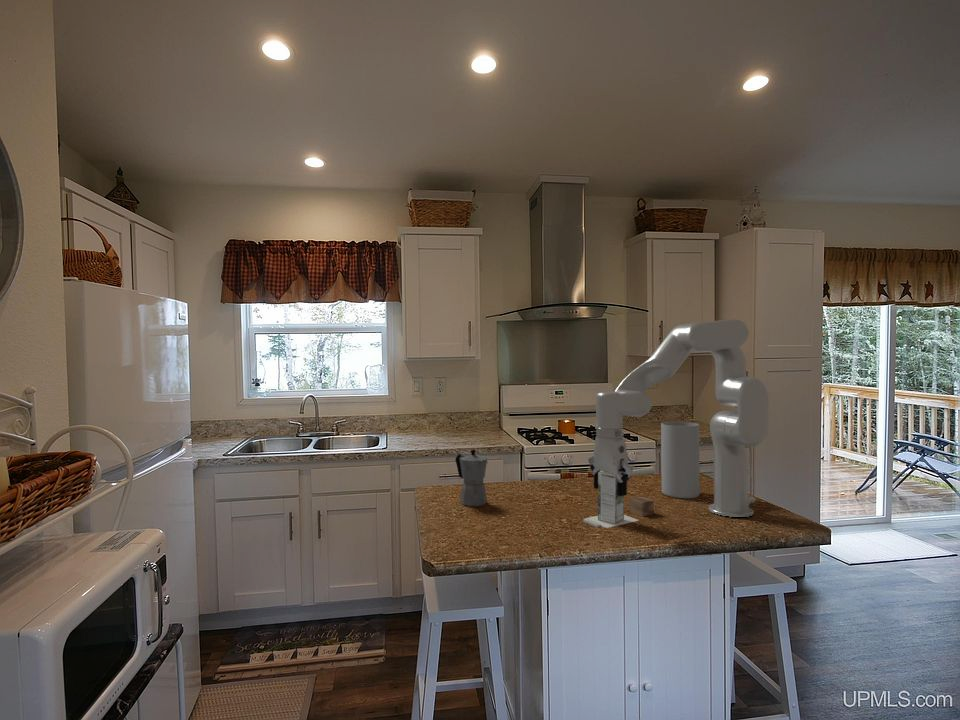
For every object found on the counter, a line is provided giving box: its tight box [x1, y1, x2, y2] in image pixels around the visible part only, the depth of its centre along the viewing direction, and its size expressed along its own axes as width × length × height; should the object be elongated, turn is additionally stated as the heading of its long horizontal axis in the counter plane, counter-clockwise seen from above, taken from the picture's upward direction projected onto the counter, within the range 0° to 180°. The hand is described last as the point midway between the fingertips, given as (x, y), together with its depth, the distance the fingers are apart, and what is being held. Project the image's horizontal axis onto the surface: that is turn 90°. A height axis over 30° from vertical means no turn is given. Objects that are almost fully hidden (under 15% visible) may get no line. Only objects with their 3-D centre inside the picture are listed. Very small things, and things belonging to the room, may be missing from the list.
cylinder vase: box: [660, 421, 701, 500], centre depth 178 cm, size 12×12×25 cm
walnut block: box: [629, 496, 655, 517], centre depth 154 cm, size 5×5×5 cm
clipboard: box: [582, 514, 640, 529], centre depth 148 cm, size 16×12×1 cm
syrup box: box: [597, 471, 625, 524], centre depth 148 cm, size 6×6×14 cm
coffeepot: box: [455, 448, 489, 507], centre depth 171 cm, size 15×9×18 cm, turn 44°
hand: (609, 491), depth 148 cm, fingers open, 9 cm apart
